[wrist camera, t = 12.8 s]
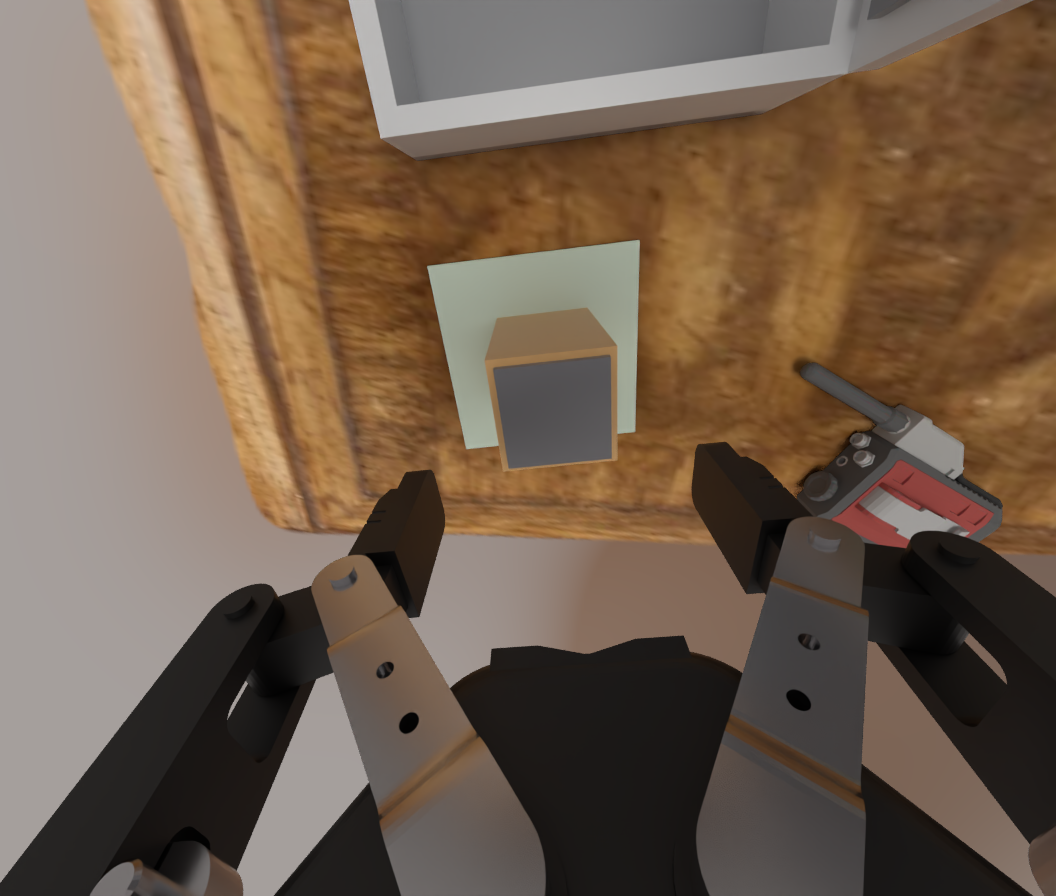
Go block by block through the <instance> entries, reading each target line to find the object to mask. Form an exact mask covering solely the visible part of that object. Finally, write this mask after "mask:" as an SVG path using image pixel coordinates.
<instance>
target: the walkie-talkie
mask: <svg viewBox="0 0 1056 896" xmlns="http://www.w3.org/2000/svg"><path fill="white" fill-rule="evenodd" d="M800 375H801V377H802V378H804V379H805V380H807V381H809V382H810V383H812V384H814V385H815V386H817V387H819V388H820V389H822V390H824V391H825V392H827V393H829V394H830V395H832V396H834V397H835V398H837V399H839V400H840V401H842V402H844V403H845V404H847V405H849V406H850V407H852V408H854V409H855V410H857V411H859V412H860V413H862V414H864V415H866V416H867V417H869V418H871V419H872V421H873V423H874V424H876V425H877V426H876V427H875V428H874V429H873V430H872V431H866V432H862V433H855V434H853V435H852V436H851V438H850V442H851V444H850V445H849V446H848V447H847V448H846V449H845V450H844V451H843V452H841V453H840V454H839V455H838V456H837V457H836V458H835V459H834V460H833V461H832V462H831V463H830V464H829V465H828V466H827V467H826V468H825V469H824V470H823V471H818V472H815V473H813V474H811V475H810V476H809V477H808V478H807V479H806V480H805V482H804V485H803V486H804V488H803V490H802V491H801V492H800V493H799V494H798V495H797V499H798V501H799V502H800V503H801V504H802V505H803V506H804V507H805V508H806V509H807V510H808V511H809V512H810V513H811V514H812V515H813V516H814V517H820V518H825V519H829V520H833V521H836V522H838V523H841V524H843V525H845V526H847V527H848V528H850V529H852V530H853V531H854V532H855V533H857V534H858V535H859V536H860V537H861V539H862V540H863V542H864V543H870V544H878V545H886V546H894V547H901V548H906V547H907V545H908V543H909V541H910V539H911V537H912V536H913V535H914V534H915V533H917V532H921V531H943V532H949V533H953V534H957V535H960V536H964V537H967V538H969V539H972V540H974V541H976V542H979V541H981V540H982V539H984V538H985V537H986V536H988V535H989V534H991V533H992V532H994V531H995V530H996V529H997V528H998V527H999V526H1000V525H1001V522H1002V507H1003V505H1002V503H1001V501H1000V500H999V499H998V498H996V497H994V496H993V495H991V494H989V493H987V492H986V491H984V490H982V489H981V488H979V487H977V486H976V485H974V484H972V483H971V482H969V481H968V480H966V479H965V478H964V477H963V474H962V471H963V470H964V469H965V468H964V467H963V455H964V446H963V444H962V443H961V442H960V441H958V440H957V439H955V438H954V437H952V436H950V435H949V434H947V433H946V432H944V431H943V430H941V429H939V428H938V427H936V426H935V425H933V424H932V420H931V419H929V418H927V417H926V416H924V415H922V414H920V413H918V412H916V411H914V410H911V409H909V408H907V407H905V406H903V405H898V406H897V407H896V408H893V407H890V406H885V405H884V404H882V403H881V402H879V401H877V400H876V399H874V398H872V397H871V396H869V395H868V394H866V393H864V392H863V391H861V390H859V389H858V388H856V387H855V386H853V385H851V384H850V383H848V382H846V381H845V380H843V379H842V378H840V377H838V376H837V375H835V374H833V373H832V372H830V371H829V370H827V369H825V368H824V367H822V366H820V365H819V364H817V363H808V364H806V365H804V366H803V367H802V368H801V370H800ZM965 486H966V487H965ZM977 493H978V494H977ZM982 496H983V497H982ZM987 499H988V500H987Z"/></svg>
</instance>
